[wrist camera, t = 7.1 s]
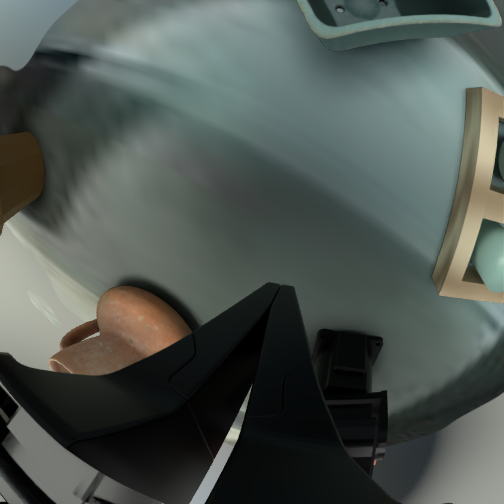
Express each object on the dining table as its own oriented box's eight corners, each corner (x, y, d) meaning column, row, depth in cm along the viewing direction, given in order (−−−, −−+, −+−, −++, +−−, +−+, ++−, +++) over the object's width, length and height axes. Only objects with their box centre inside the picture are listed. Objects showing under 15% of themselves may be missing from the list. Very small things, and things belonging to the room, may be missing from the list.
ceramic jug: (220, 301, 27) (140, 418, 15) (218, 379, 34) (170, 465, 22) (94, 255, 31) (12, 319, 19) (116, 332, 38) (61, 393, 26)
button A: (493, 266, 16) (512, 294, 12) (459, 260, 17) (476, 289, 14) (508, 223, 14) (532, 246, 11) (473, 214, 15) (496, 237, 12)
